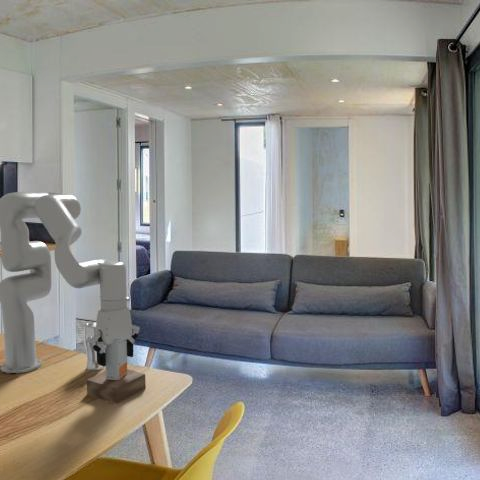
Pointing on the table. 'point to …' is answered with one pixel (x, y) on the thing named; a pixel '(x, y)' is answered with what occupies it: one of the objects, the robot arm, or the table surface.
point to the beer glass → (91, 353)
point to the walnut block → (116, 386)
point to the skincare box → (116, 360)
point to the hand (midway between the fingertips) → (115, 360)
